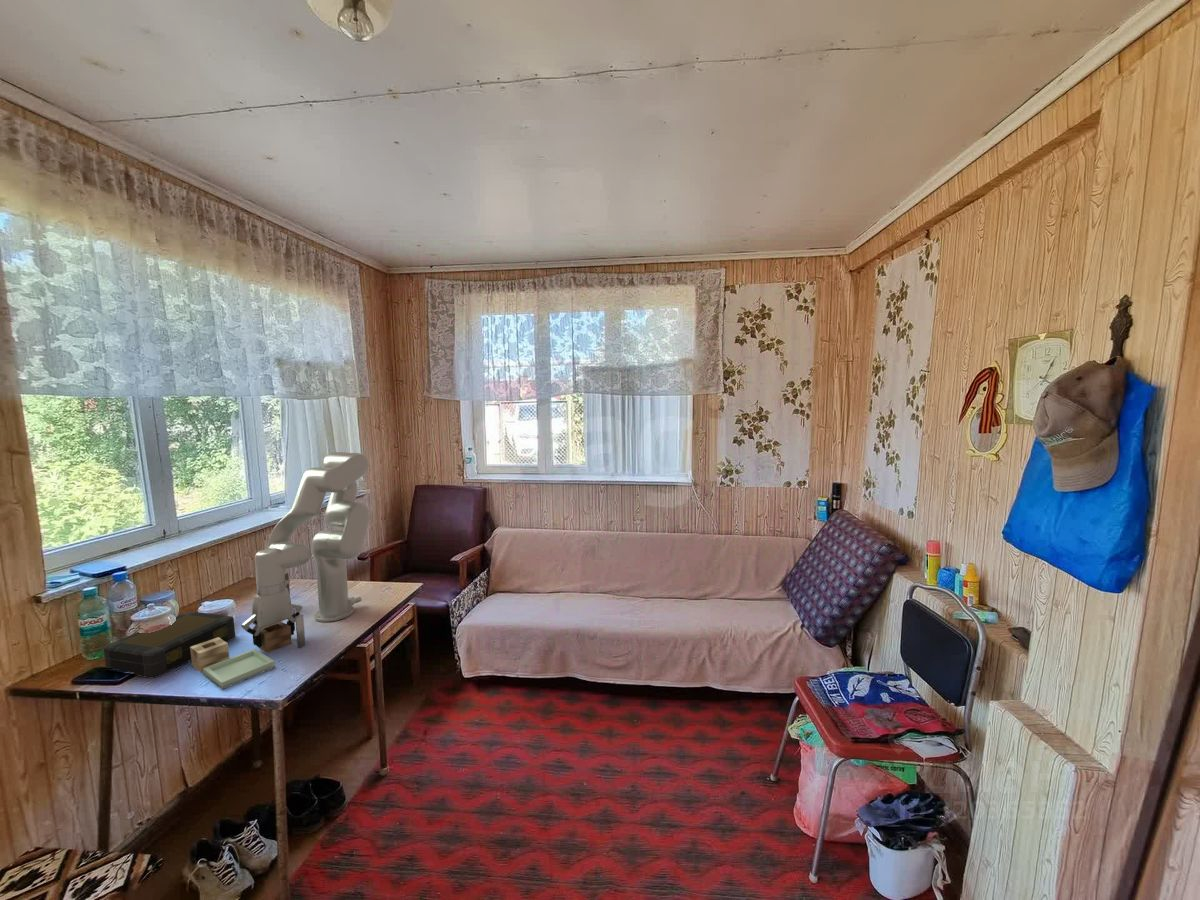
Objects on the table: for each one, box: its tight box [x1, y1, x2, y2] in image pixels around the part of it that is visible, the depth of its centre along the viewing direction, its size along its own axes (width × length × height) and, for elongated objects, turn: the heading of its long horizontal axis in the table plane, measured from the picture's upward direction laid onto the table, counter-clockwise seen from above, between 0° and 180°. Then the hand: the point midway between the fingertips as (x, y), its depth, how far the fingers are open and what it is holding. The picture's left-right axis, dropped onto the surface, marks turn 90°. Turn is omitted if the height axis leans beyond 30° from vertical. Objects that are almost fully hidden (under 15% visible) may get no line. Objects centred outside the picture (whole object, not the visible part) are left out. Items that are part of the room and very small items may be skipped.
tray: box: [202, 648, 276, 690], centre depth 141 cm, size 13×13×2 cm
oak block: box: [190, 637, 230, 674], centre depth 145 cm, size 7×7×6 cm
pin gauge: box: [295, 614, 306, 649], centre depth 155 cm, size 2×2×10 cm
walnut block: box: [257, 621, 293, 654], centre depth 155 cm, size 7×7×6 cm
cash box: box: [103, 611, 236, 678], centre depth 151 cm, size 25×20×8 cm
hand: (274, 639), depth 156 cm, fingers open, 9 cm apart
